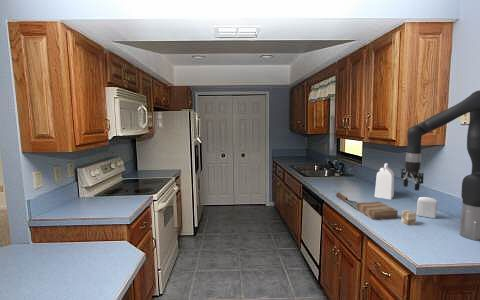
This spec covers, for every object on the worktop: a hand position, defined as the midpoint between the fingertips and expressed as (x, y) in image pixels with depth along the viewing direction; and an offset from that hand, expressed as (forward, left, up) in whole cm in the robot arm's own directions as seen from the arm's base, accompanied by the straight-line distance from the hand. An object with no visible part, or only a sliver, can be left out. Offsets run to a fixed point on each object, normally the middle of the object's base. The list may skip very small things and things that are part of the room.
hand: (410, 188), depth 161 cm
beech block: (0, 0, -21) cm, 21 cm away
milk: (+52, -22, -21) cm, 60 cm away
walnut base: (+17, +9, -21) cm, 29 cm away
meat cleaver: (+41, +11, -22) cm, 48 cm away
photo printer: (+8, -19, -21) cm, 30 cm away
